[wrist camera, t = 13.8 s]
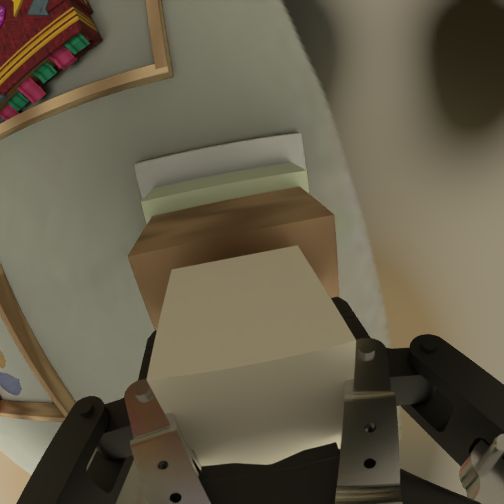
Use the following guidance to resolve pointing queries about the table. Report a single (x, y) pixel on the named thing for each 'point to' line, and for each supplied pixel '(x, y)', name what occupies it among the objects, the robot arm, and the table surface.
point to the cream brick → (252, 358)
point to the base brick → (223, 188)
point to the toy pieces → (8, 380)
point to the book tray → (107, 85)
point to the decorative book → (39, 46)
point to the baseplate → (219, 160)
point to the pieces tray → (31, 365)
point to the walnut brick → (234, 239)
